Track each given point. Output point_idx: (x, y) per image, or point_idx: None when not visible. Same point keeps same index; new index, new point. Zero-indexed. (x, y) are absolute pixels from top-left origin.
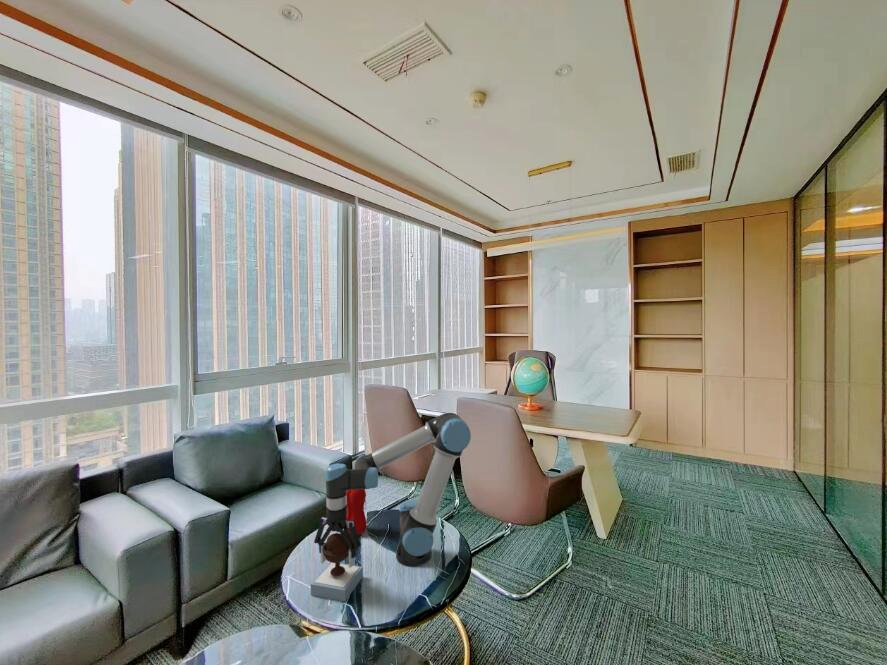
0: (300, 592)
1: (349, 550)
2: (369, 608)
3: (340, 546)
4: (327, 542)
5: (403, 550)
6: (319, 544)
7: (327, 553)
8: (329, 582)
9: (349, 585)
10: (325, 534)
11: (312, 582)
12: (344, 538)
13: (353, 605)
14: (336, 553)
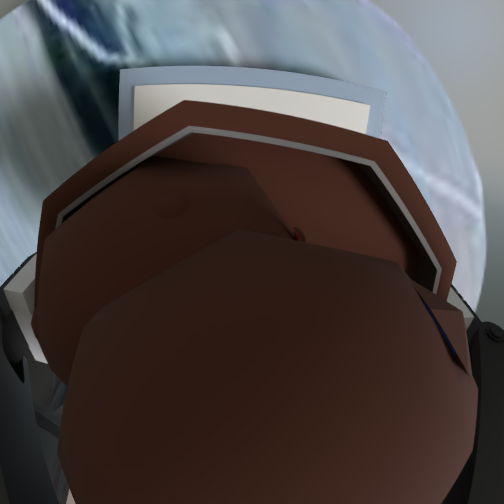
0: (417, 110)
1: (15, 292)
2: (27, 78)
3: (56, 316)
4: (454, 365)
5: (38, 379)
6: (496, 329)
7: (351, 203)
8: (261, 107)
9: (121, 128)
10: (497, 491)
11: (382, 108)
12: (3, 468)
13: (92, 63)
14: (130, 175)
